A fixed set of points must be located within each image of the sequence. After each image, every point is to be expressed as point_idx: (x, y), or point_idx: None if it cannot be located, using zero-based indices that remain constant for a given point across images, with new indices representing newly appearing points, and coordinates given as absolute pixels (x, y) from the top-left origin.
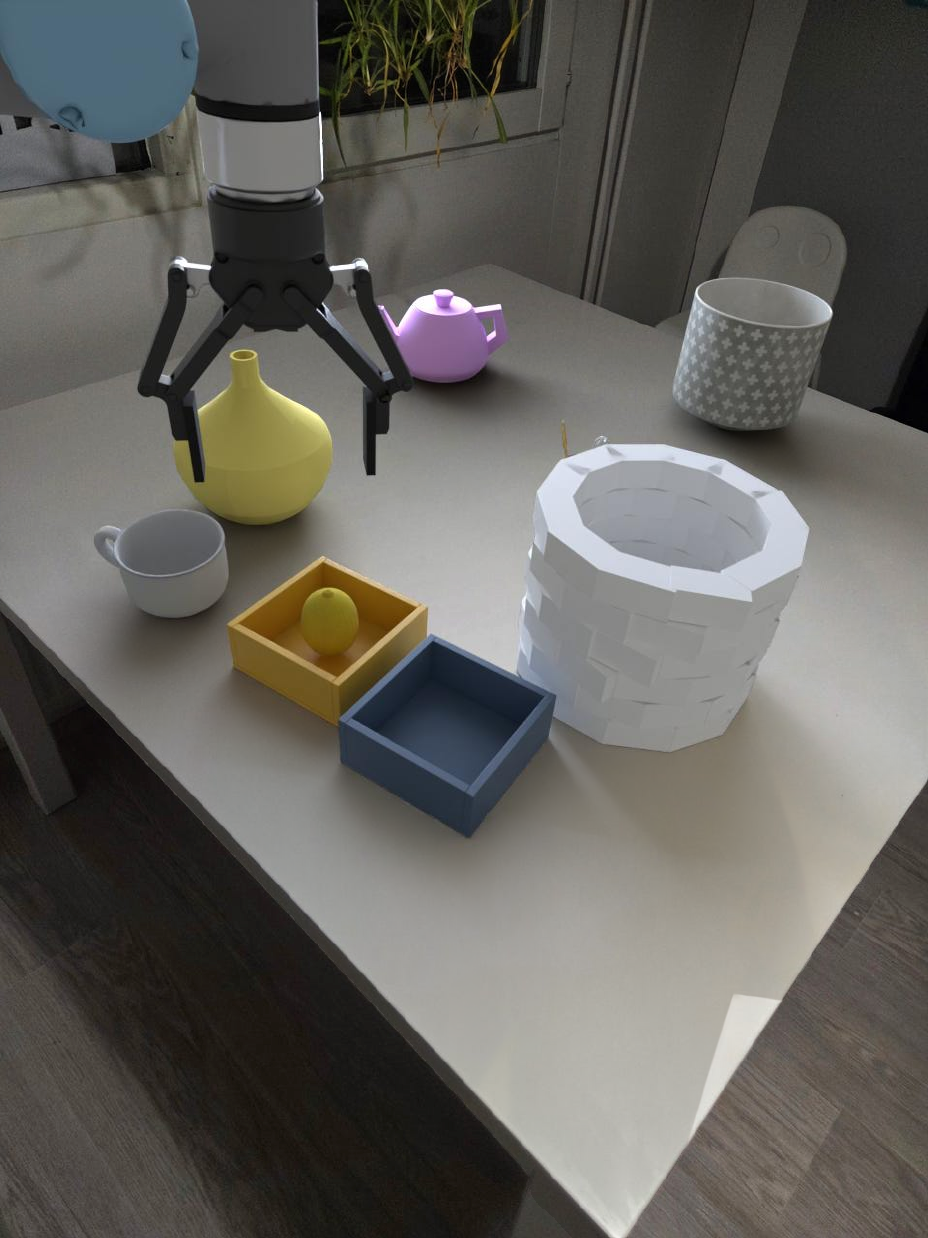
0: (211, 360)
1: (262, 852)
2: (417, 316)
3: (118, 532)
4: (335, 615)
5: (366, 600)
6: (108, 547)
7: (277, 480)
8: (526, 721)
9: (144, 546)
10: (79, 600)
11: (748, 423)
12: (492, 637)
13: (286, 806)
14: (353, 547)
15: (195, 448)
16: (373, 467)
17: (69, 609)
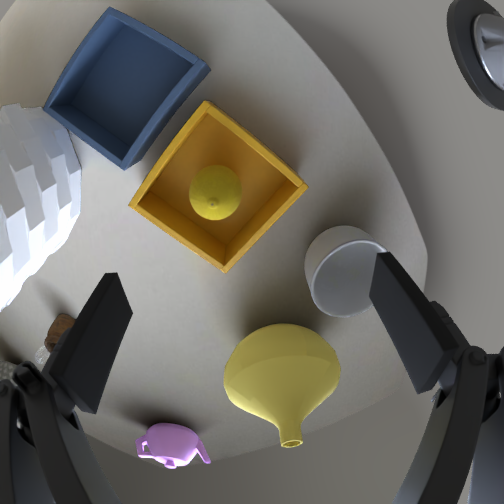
0: (438, 459)
1: (267, 6)
2: (183, 457)
3: None
4: (206, 180)
5: (186, 228)
6: None
7: (265, 349)
8: (62, 79)
9: (364, 288)
10: (396, 252)
11: (10, 365)
12: (97, 203)
13: (251, 36)
14: (207, 303)
15: (409, 288)
16: (102, 281)
17: (402, 244)
